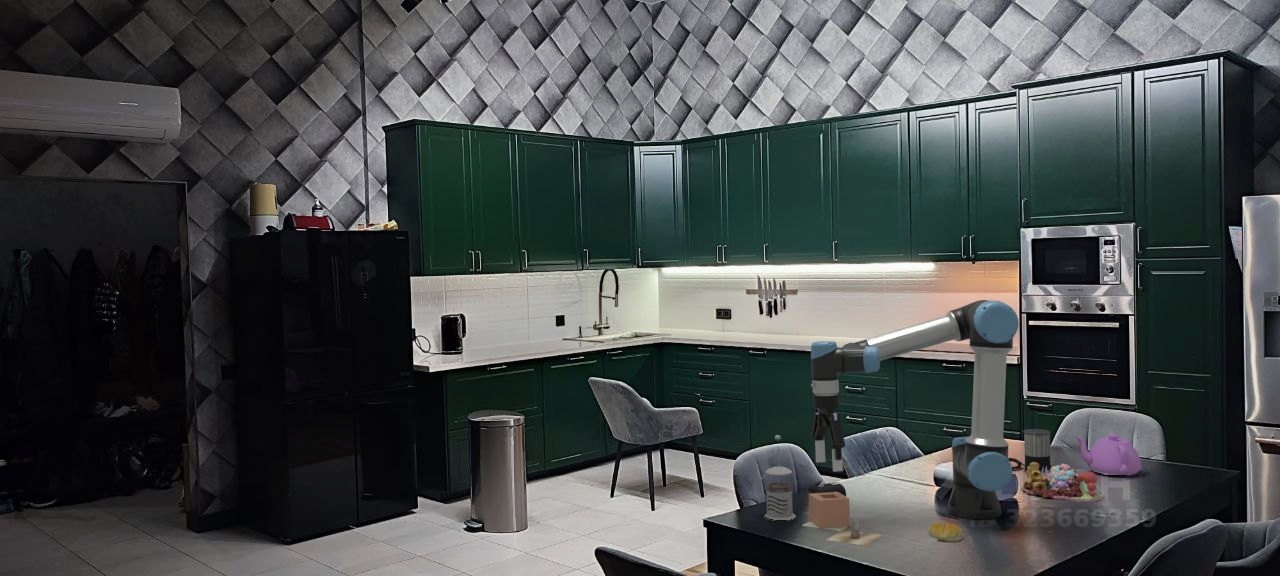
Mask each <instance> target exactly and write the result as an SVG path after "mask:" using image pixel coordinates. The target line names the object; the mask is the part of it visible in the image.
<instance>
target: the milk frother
mask: <svg viewBox="0 0 1280 576" xmlns="http://www.w3.org/2000/svg"><path fill="white" fill-rule="evenodd" d="M1022 432H1023V437H1024V441H1023V442H1024V444H1023V445H1024V463H1023V462H1022V461H1020V460H1019V459H1017V458H1013V457H1008V460H1009V461H1010V462H1012V463H1016V464H1017V465H1016V466H1012V469H1018V470H1020V469H1021V468H1022V466H1023V467H1024V469H1025V470H1026V471H1027V467H1028V466H1030V463H1032V462H1036V463H1038V464H1039V469H1038V471H1040V472H1041V473H1042V468H1043V473H1045V468H1046V466H1047V469H1048V470H1049V472H1050V469H1051V468H1052V466H1051V465H1052V464H1051V431H1050V430H1048V429H1047V430H1046V429H1036V428H1035V429H1034V428H1033V429H1028V428H1027V429H1024V430H1022ZM1019 468H1020V469H1019Z"/></svg>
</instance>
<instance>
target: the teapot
mask: <svg viewBox="0 0 1280 576" xmlns="http://www.w3.org/2000/svg"><path fill="white" fill-rule="evenodd" d="M1073 437H1074V438H1076V439H1077V440H1078V443H1079V446H1080V455H1081V456H1080V457H1081V458H1082V459H1083V461H1084V462H1085V463H1086V465H1087V466H1088V467H1089V469H1090V470H1091V469H1093V470H1095V471H1098V472H1102V473H1107V474H1116V475H1129V474H1135V475H1137V474H1138V473H1139V472H1140V471H1141V470H1142V460H1141V458H1140V455H1139V452H1137V450H1136V449H1135V447H1134V445H1133V444H1132V443H1131V441H1129V440H1127V439H1122V438H1119V434H1114V433H1112V434H1107V437H1103V438H1098V439H1097V440H1096V441H1095V443H1093V446H1092V447H1091V448H1090V451H1088V448H1087V442H1086V441H1085V439H1084V438H1083V437H1080V436H1076V435H1073ZM1136 473H1137V474H1136Z"/></svg>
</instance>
